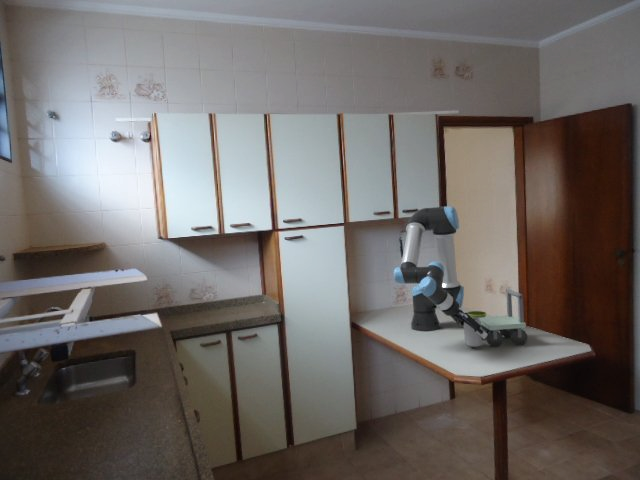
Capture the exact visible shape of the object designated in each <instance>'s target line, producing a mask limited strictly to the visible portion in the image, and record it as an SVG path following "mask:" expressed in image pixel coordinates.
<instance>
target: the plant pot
mask: <svg viewBox="0 0 640 480" xmlns="http://www.w3.org/2000/svg"><path fill="white" fill-rule="evenodd" d="M466 313H467V314H468V315H469V316H470V317H475V318H481V317H487V316H486V315H487V312H486V311H481V310H471V311H468V312H466Z"/></svg>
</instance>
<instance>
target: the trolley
mask: <svg viewBox="0 0 640 480" xmlns="http://www.w3.org/2000/svg"><path fill="white" fill-rule="evenodd" d="M505 293H506V308H507V315H498V316H497V315H496V316H495V315H493V316H485V317H481V318H479V319H480V321H481V328H482V329H483V330H484V331H485V332H486V333H487V334H488V335H487V337H486V338H485V339H483V338H482V340H486V342H487V343H486V344H488V345H489V346H491V347H493V348H498V347H499V346H501V345H502V344H503V341H504V338H506V339H507V338H508V339H510V341H511V342H512V344H513V343H514V344H515V345H517V346H522V345H524V344H525V343H526V342H527V341H528V333H527V331H526V330H523V329H524V328H525V329H526V325H527V323H526V322H525V318H524V316H525V314H524V298H523V297H524V295H523V294H522V293H520V292H518V291H515V290H513V289H509V288H507V289H506V290H505ZM512 296H514V297H516V298H517V310H518V315H517V316H518V318H517V317H515V316H513V301H512ZM498 330H499V331H498Z"/></svg>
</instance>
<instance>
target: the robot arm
mask: <svg viewBox="0 0 640 480" xmlns="http://www.w3.org/2000/svg"><path fill="white" fill-rule="evenodd" d="M459 228H460V220H459V216H458V212H457V209H456V208H455V207H454V206H447V205H446V206H435V207H424V208H421V209H419V210H417V211H416V212H414V213H413V214H412V216H411V217H410V218H409V219H408V221H407V224H406V228H405V230H406V238H405V242H404V243H405V244H404V248H403V252H402V258H401V263H400V266H398V267H395V268H394V270H393V279H394V281H395V283H396V284H402V285H406V284H418V285H415V286H413V288H412V290H411V291H412V292H411V293H412V294H411V296H412V307H413V310H412V311H413V314H412V318H411V322H410V328H411V329H413V330H415V331H421V332H422V331H424V332H425V331H427V332H428V331H429V332H430V331H435V330H438V329H440V327H441V325H440V320H439V317H438V315H437V313H436V309H439V310H441V312H442V313H443V314H444V315H445V316H448V317H451V319H452V320H453V321H454V322H455V323H456V324H457V325H460V326H462V327H463V328H464V322H465V323H466V324H468V325H469V326H470V327H472V328H473V329H474V332H476V333H478V334H479V335H480V336H481V337H482V338H483V339H482V340H484V339H485V338H486V337H487V335H488V334H487V333H486V332H485V331H484V330H483V329H482V328H480V327H481V325H480V324H478V323H477V322H476V321H475V320H474V319H473V318H472V317H470V316H469V315H468V314H467V313H468V312H464V311H463V310H462V309H461V308H462V307H463V304H464V295H465V287H464V286H462V285H461V282H460V281H459V280H458V277H457V276H458V275H457V273H458V272H457V262H456V261H457V260H456V250H455V239H454V236H455V235H456V233H457V230H458V229H459ZM427 231H432V235H433V236H435V238H436V249H437V251H436V252H437V261H431V262H430V263H428V265H427V266H418V263H419V256H420V251H421V246H422V245H421V244H422V240H423V236H424V235H425V233H426V232H427Z"/></svg>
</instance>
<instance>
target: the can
mask: <svg viewBox="0 0 640 480" xmlns="http://www.w3.org/2000/svg"><path fill="white" fill-rule="evenodd" d="M472 318H473V319H474V320H475V321H476V322H477V323H478V324H480V325H481V321H480V319H479V318H475V317H472ZM480 328H481V327H480ZM463 330H464V344H465V345H466V346H468V347H474V348H477V347H480V346H481V345H482V344H483V339H482V337H481V336H480V335H479V334H478V333H476V332H474V329H473V328H472V327H470V326H469V325H468V324H466V323H465V322H464V327H463Z"/></svg>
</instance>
